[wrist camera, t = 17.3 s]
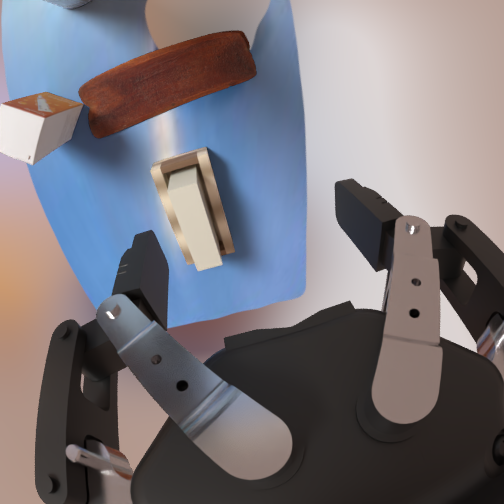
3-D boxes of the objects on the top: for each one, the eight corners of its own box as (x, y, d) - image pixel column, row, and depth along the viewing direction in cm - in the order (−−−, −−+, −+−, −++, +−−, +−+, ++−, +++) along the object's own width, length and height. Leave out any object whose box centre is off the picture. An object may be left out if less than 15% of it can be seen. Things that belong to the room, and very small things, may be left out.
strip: (171, 171, 41) (167, 191, 35) (196, 163, 41) (196, 182, 35) (196, 242, 49) (197, 271, 43) (217, 236, 50) (222, 264, 43)
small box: (84, 103, 32) (46, 117, 22) (71, 140, 34) (33, 167, 24) (45, 90, 28) (0, 102, 18) (34, 126, 31) (-10, 150, 21)
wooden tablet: (97, 141, 37) (94, 143, 35) (77, 87, 30) (73, 88, 29) (259, 83, 37) (262, 84, 35) (244, 26, 31) (246, 24, 29)
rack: (153, 162, 40) (150, 171, 37) (206, 146, 41) (207, 153, 38) (187, 251, 51) (187, 264, 48) (232, 239, 52) (235, 251, 49)
